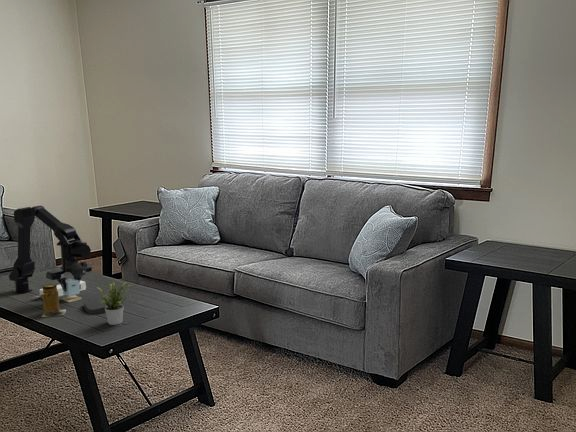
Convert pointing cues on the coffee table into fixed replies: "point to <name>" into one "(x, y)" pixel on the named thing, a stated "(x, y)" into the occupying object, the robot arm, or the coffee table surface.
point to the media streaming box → (96, 305)
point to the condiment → (51, 301)
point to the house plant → (114, 304)
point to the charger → (71, 287)
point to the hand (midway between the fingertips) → (71, 290)
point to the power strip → (61, 290)
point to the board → (71, 298)
